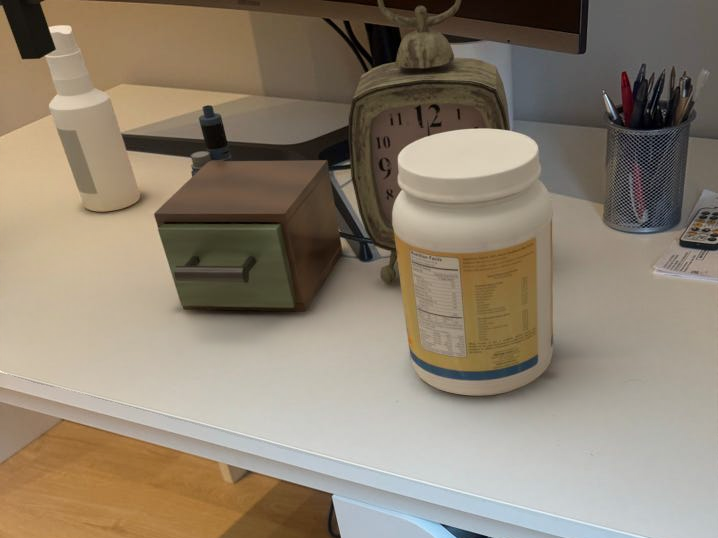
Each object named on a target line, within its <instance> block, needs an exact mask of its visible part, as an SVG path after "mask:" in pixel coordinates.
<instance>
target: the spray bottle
mask: <svg viewBox="0 0 718 538" xmlns="http://www.w3.org/2000/svg"><path fill="white" fill-rule="evenodd" d="M48 27H49V30H50V33H51V36H52V39H53V42H54V45H55V48H56V50H54V51H53V52H51V53H49V54H47V55H45V56H44V57H45V60H46V62H47V63H46V64H47V65H48V69H49V71H50V74H51V75H50V76H51V80H52V83H53V85H54V88H55V91H56V94H55V95H54V97H53V98H52V99H51V100H50V102H49V104H48V109H49V112H50V114H51V117H52V119H53V120H52V121H53V123H54V126H55V129H56V131H57V135H58V137H59V139H60V143H61V146H62V148H63V151H64V154H65V157H66V159H67V162H68V165H69V168H70V170H71V173H72V176H73V179H74V182H75V185H76V187H77V190H78V194H79V195H80V198H81V201H82V204H83V206H84V207H85V209H87V210H89V211H94V212H103V213H105V212H113V211H118V210H122V209H125V208H129V207H130V206H132V205H134V204H136V203H137V202H139V200H140V198H141V193H140V189H139V186H138V183H137V179H136V176H135V173H134V170H133V166H132V164H131V160H130V157H129V154H128V151H127V147H126V143H125V141H124V138H123V134H122V131H121V129H120V125H119V122H118V119H117V115H116V112H115V109H114V105H113V103H112V99H111V98H110V96H109V94H108V93H107V92H104V91H102V90H100V89H98V88H96V87H94V84H93V80H92V78H91V74H90V71H88V68H87V65H86V62H85V59H84V56H83V55H84V54H83V52H82V49H81V48H80V47H79V44H78V43H77V40H76V37H75V35H74V31H73V28H72V26H71V25H66V24H62V25H61V24H60V25H53V26H52V25H51V26H48Z"/></svg>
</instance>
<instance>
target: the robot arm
mask: <svg viewBox="0 0 718 538" xmlns="http://www.w3.org/2000/svg"><path fill="white" fill-rule="evenodd" d="M44 1H46V0H0V7H2V8H3V12H4V14H5V17H6V20H7V22H8V25H9V28H10V30H11V33H12V36H13V39H14V41H15V45H16V47H17V50H18V52H19V55H20V58H21V60H40V59H41V58H43V57H45V55H47V54H49V53H51V52H53V51H54V50H56V48H55V45H54V42H53V39H52V36H51V33H50V30H49V27H50V26H49V25H48V22H47V18H46V15H45V12H44V10H43V7H42V4H41V3H42V2H44Z"/></svg>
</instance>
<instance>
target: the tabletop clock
mask: <svg viewBox="0 0 718 538" xmlns="http://www.w3.org/2000/svg"><path fill="white" fill-rule="evenodd" d="M461 3H462V0H455V2H454V5H452V6H451V7H450V8H448V10H446V11H444V12H441V13H439V14H437V15H431V16H428V10H427V8H426V7H425V6H424V5H417V6H416V7H415V9H414V17H406V16H401V15H398V14H395V13H393V12H391V11H390V10H388V9H387V8H386V6H385V3H384V0H377V4H378V8H379V10H380V12H381V13H382V15H383V16H384V17H385V18H386V19H388V20H389V21H390V22H391V23H393V24H395V25H399V26H401V27H404V28H413V29H415V30H414V31H412V32H409V33H407V34H406V35H404V37H403V39H402V40H401V42H400V44H399V46H398V49H397V53H396V58H395V61H394V62H390V63H384V64H381V65H378V66H375V67H372V69H369V70H368V71H367V72H364V73H363V74H361V76H360V79H359V82H358V84H357V86H356V90H355V93H354V95H353V97H352V101H351V106H350V109H349V110H350V111H349V115H348V126H347V127H348V130H347V132H348V133H347V135H348V136H347V140H348V154H349V164H350V166H349V167H350V176H351V182H352V187H353V191H354V195H355V199H356V203H357V204H356V205H357V209H358V212H359V216H360V219H361V223H362V225H363V227H364V230H365V233H366V234H367V236H368V238H369V240H370V242H371V243H372V245H373V246H374V247H377V248H380V249H381V250H385V251H389V252H390V256H389V262H388V264H386V265H384V266H382V268H381V269H380V272H379V277H380V278H381V280H382V281H383V283H387V284H390V283H393V282H395V280H396V278H397V270H396V268H395V264H396V263H397V261H398V259H397V251H396V244H395V237H394V229H393V225H392V211H393V206H394V202H395V200H396V198H397V196H398V195H399V193H400V192H401V190H402V189H401V188H400V186H399V185H398V174H399V170H398V155H399V153H400V152H401V151H402V150H403V149H404V148H405V147H406V146H408V145H409V144H411V143H413V142H415V141H417V140H419V139H422V138H424V137H427V136H431V135H434V134H439V133H443V132H449V131H455V130H463V129H500V130H508V131H511V126H510V114H509V105H508V99H507V94H506V90H505V86H504V82H503V80H502V78H501V75H500V72H499V70H498V67H497V66H496V65H494V64H491V63H489V62H488V61H487V62H486V61H484V60H481V59H478V58H477V59H476V58H471V57H455V54H454V51H453V49H452V46H451V44H450V42H449V41H448V39H447V38H446V37H445V35H443V34H442V33H441V32H439V31H436V30H433V29H429V28H430V27H434V26H438V25H440V24H443V23H445V22H446V21H448V20H451V19H452V18H453V16H454V15H455V14H457V11H459V8H460V6H461Z"/></svg>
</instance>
